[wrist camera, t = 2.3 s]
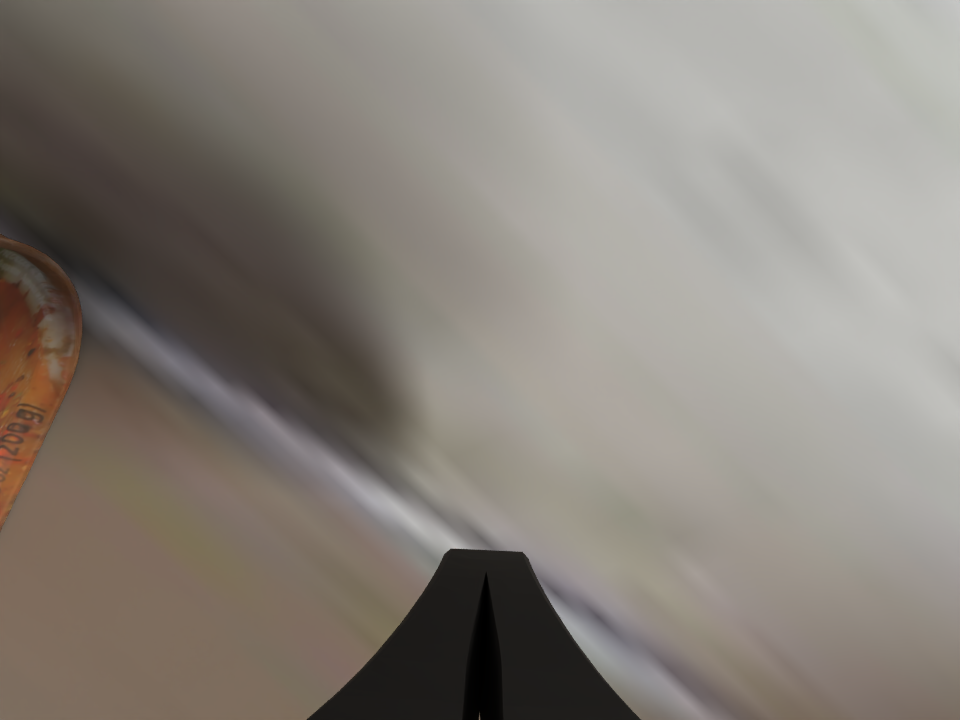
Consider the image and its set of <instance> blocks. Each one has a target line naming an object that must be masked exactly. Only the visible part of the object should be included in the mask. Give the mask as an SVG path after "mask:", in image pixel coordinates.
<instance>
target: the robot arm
mask: <svg viewBox="0 0 960 720" xmlns="http://www.w3.org/2000/svg"><path fill="white" fill-rule="evenodd" d="M479 713H480V720H641V719H640V718H639V717H638V716H637V715H636V714H635V713H634V712H633V711H632V710H631V709H630V708H629V707H628V706H627V705H626V703H625V702H624V701H623V700H622V699H621V698H620V697H619V696H618V695H617V694H616V692H615V691H614V690H613V689H612V688H611V687H610V685H609V684H608V683H607V682H606V681H605V680H604V678H603V677H602V676H601V675H600V673H599V672H598V671H597V670H596V668H595V667H594V666H593V664H592V663H591V662H590V660H589V659H588V658H587V656H586V655H585V654H584V652H583V651H582V650H581V649H580V647H579V646H578V644H577V643H576V641H575V640H574V639H573V637H572V636H571V634H570V633H569V631H568V630H567V628H566V627H565V625H564V624H563V622H562V620H561V619H560V617H559V616H558V614H557V613H556V611H555V610H554V608H553V606H552V605H551V603H550V601H549V600H548V598H547V596H546V594H545V592H544V591H543V589H542V587H541V585H540V583H539V581H538V579H537V577H536V575H535V573H534V571H533V569H532V567H531V564H530V562H529V559H528V558H527V557H526V555H525V554H524V553H523V552H512V551H491V550H470V549H450V550H449V551H448V552H446V553H445V554H444V556H443V558H442V561H441V563H440V565H439V567H438V569H437V570H436V572H435V574H434V576H433V577H432V579H431V581H430V582H429V584H428V585H427V587H426V589H425V590H424V592H423V593H422V595H421V596H420V597H419V599H418V600H417V602H416V603H415V604H414V606H413V607H412V609H411V610H410V612H409V613H408V614H407V616H406V617H405V618H404V620H403V621H402V622H401V624H400V625H399V626H398V627H397V628H396V630H395V631H394V632H393V633H392V635H391V636H390V637H389V638H388V639H387V641H386V642H385V643H384V644H383V645H382V647H381V648H380V649H379V650H378V651H377V653H376V654H375V655H374V656H373V657H372V658H371V659H370V660H369V661H368V662H367V663H366V665H365V666H364V667H363V668H362V669H361V670H360V671H359V672H358V673H357V674H356V675H355V676H354V677H353V678H352V679H351V680H350V681H349V682H348V683H347V684H346V685H345V686H344V687H343V688H342V689H341V690H340V691H339V692H337V693H336V694H335V695H334V696H333V697H332V698H331V699H330V700H328V701H327V702H326V703H325V704H324V705H323V706H322V707H320V708H319V709H318V710H317V711H316V712H315V713H314V714H312V715H311V716H310V717H309V718H308V719H307V720H479Z"/></svg>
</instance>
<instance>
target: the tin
mask: <svg viewBox="0 0 960 720" xmlns="http://www.w3.org/2000/svg"><path fill="white" fill-rule="evenodd" d="M81 339H82V310H81V305H80V301H79V297H78V294H77V292H76V289H75V287H74V285H73V284H72V282H71V280H70V279H69V277H68V276H67V274H66V273H65V272H64V271H63V269H62V268H61V267H60V266H59V265H58V264H57V263H56V262H55V261H53V260H52V259H51V258H50V257H48V256H47V255H46V254H44V253H42V252H40V251H39V250H37V249H35V248H33V247H31V246H29V245H26V244H23V243H20V242H17V241H15V240H12V239H8V238H6V237H5V236H3V235H2V234H0V531H1V529H2V526H3V524H4V522H5V520H6V518H7V516H8V514H9V512H10V510H11V508H12V505H13V503H14V501H15V499H16V497H17V494H18V492H19V490H20V488H21V487H22V485H23V483H24V481H25V479H26V477H27V475H28V473H29V471H30V468H31V466H32V464H33V462H34V460H35V457H36V455H37V453H38V451H39V449H40V447H41V445H42V443H43V441H44V439H45V436H46V434H47V432H48V430H49V428H50V426H51V424H52V422H53V420H54V418H55V416H56V413H57V411H58V409H59V407H60V405H61V403H62V401H63V399H64V396H65V394H66V392H67V389H68V387H69V385H70V383H71V380H72V377H73V375H74V372H75V368H76V365H77V362H78V358H79V352H80V346H81Z"/></svg>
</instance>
